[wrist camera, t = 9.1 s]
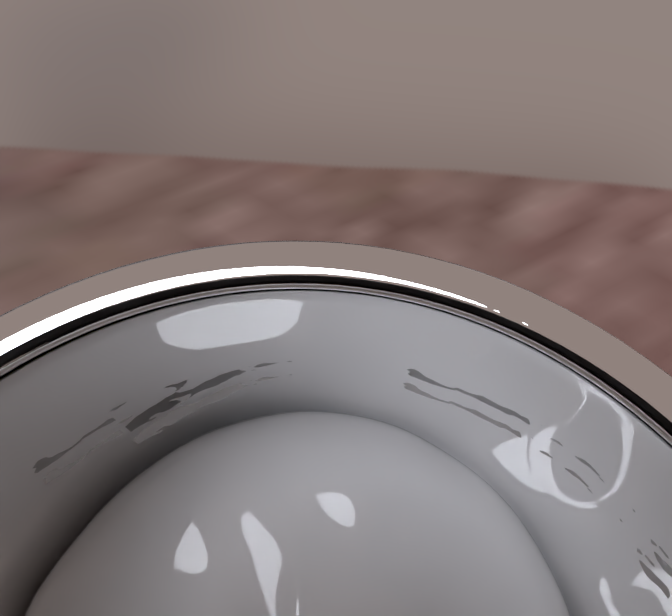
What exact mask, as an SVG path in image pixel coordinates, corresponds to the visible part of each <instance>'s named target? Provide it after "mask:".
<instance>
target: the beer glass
mask: <svg viewBox="0 0 672 616" xmlns="http://www.w3.org/2000/svg"><path fill="white" fill-rule="evenodd" d="M0 616H672V377H671V376H670V375H669V374H667V373H666V372H665V371H663V370H662V369H661V368H659V367H658V366H656V365H655V364H654V363H652V362H651V361H650V360H648V359H647V358H646V357H644V356H643V355H641V354H640V353H638V352H637V351H635V350H634V349H632V348H631V347H629V346H628V345H627V344H625V343H624V342H622V341H621V340H619V339H617V338H616V337H614V336H613V335H611V334H609V333H608V332H606V331H605V330H603V329H601V328H600V327H598V326H596V325H594V324H593V323H591V322H589V321H587V320H586V319H584V318H582V317H580V316H578V315H577V314H575V313H573V312H571V311H569V310H567V309H565V308H563V307H561V306H559V305H558V304H556V303H554V302H552V301H550V300H547V299H545V298H543V297H541V296H539V295H537V294H535V293H533V292H530V291H528V290H526V289H523V288H521V287H519V286H516V285H514V284H511V283H509V282H506V281H504V280H501V279H498V278H496V277H493V276H490V275H488V274H485V273H482V272H479V271H476V270H473V269H470V268H467V267H464V266H461V265H458V264H454V263H450V262H447V261H443V260H440V259H436V258H432V257H427V256H423V255H419V254H414V253H410V252H404V251H399V250H394V249H389V248H382V247H375V246H369V245H361V244H351V243H342V242H325V241H297V240H290V241H262V242H245V243H236V244H227V245H218V246H212V247H205V248H198V249H193V250H187V251H182V252H177V253H172V254H167V255H163V256H159V257H154V258H150V259H146V260H142V261H139V262H135V263H131V264H128V265H124V266H120V267H117V268H114V269H111V270H108V271H105V272H102V273H99V274H96V275H93V276H90V277H88V278H85V279H82V280H80V281H77V282H74V283H71V284H69V285H66V286H64V287H61V288H59V289H57V290H54V291H52V292H49V293H47V294H44V295H42V296H40V297H38V298H36V299H33V300H31V301H29V302H27V303H25V304H23V305H21V306H18V307H16V308H14V309H13V310H11V311H9V312H7V313H5V314H3V315H1V316H0Z"/></svg>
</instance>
